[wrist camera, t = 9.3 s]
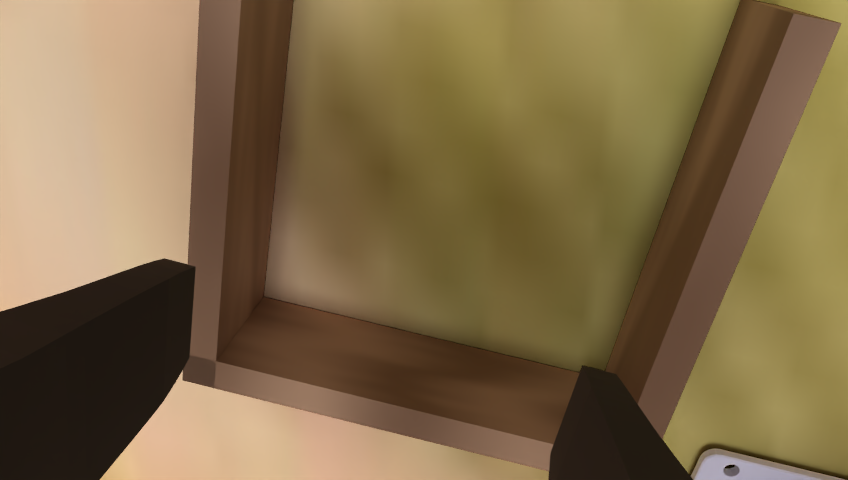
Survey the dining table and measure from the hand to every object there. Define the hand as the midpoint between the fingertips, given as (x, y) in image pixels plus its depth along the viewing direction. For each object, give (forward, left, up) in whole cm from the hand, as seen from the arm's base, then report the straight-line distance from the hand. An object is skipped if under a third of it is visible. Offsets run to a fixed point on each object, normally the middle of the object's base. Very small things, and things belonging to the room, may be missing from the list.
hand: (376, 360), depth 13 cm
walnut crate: (-1, 0, -10) cm, 10 cm away
